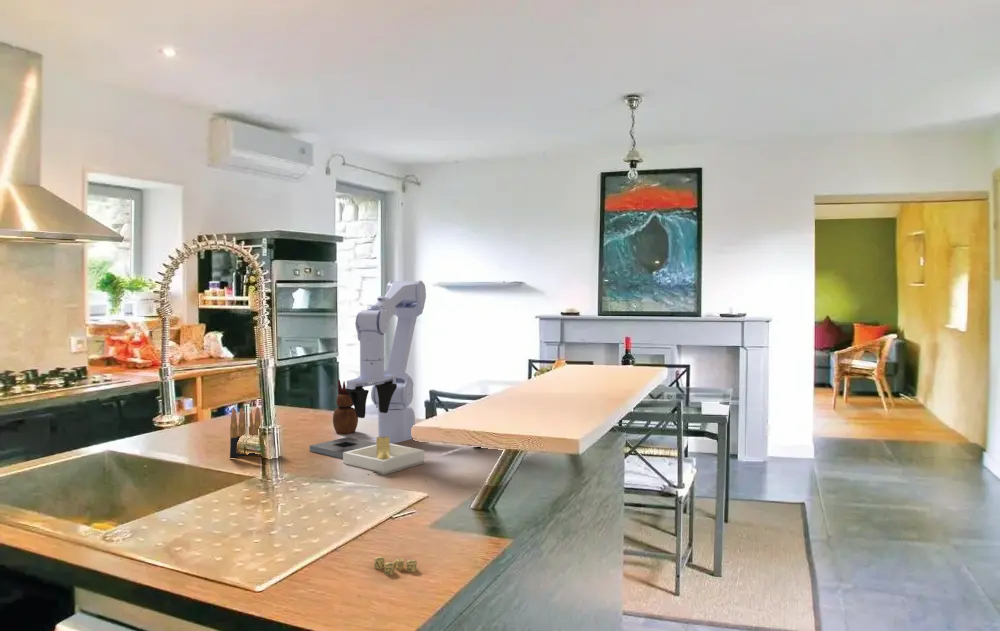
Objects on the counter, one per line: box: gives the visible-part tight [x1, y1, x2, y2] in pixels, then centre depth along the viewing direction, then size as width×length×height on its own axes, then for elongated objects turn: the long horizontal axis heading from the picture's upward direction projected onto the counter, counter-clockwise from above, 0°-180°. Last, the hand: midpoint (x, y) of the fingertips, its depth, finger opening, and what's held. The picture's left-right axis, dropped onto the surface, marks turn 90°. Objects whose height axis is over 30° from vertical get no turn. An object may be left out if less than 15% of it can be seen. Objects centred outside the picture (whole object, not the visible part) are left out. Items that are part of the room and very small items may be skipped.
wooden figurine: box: [332, 379, 359, 435], centre depth 194 cm, size 7×6×15 cm
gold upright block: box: [375, 436, 390, 460], centre depth 163 cm, size 3×3×6 cm
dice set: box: [373, 556, 417, 576], centre depth 104 cm, size 5×5×2 cm
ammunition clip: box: [229, 406, 277, 459], centre depth 169 cm, size 11×2×12 cm, turn 107°
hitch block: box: [309, 436, 376, 460], centre depth 174 cm, size 12×12×2 cm
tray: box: [342, 443, 425, 476], centre depth 163 cm, size 13×13×3 cm
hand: (372, 415), depth 173 cm, fingers open, 7 cm apart
